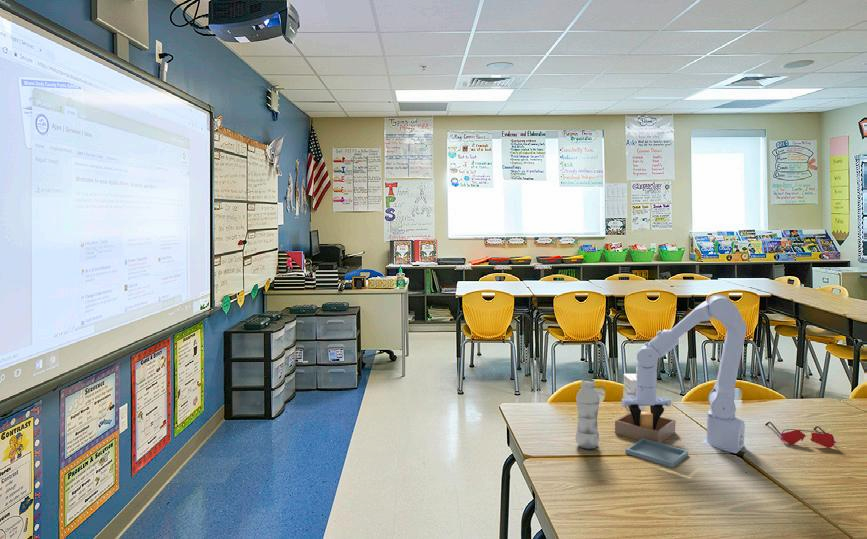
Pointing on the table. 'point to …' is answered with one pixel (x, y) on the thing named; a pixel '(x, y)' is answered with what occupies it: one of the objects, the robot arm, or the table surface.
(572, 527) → the table surface
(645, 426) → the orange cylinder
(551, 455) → the table surface
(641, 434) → the brown storage bin
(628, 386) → the ink cartridge box
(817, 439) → the glasses
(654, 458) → the tray
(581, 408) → the plastic bottle
